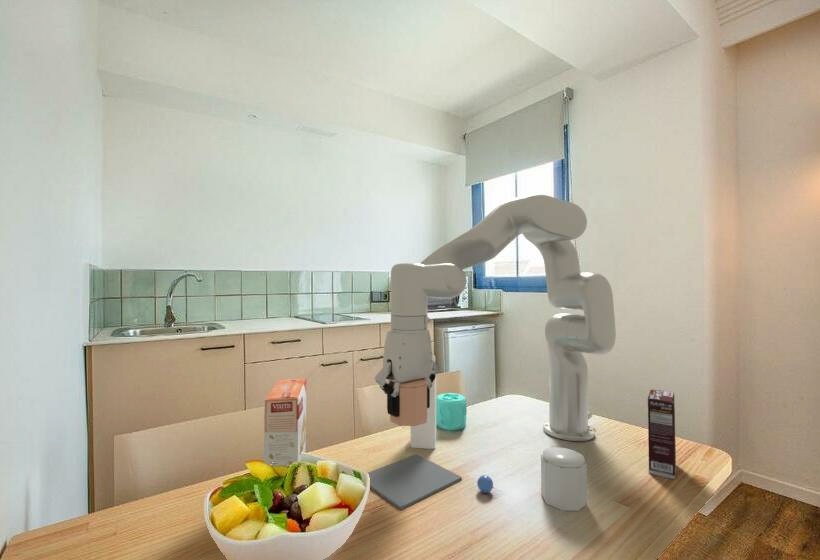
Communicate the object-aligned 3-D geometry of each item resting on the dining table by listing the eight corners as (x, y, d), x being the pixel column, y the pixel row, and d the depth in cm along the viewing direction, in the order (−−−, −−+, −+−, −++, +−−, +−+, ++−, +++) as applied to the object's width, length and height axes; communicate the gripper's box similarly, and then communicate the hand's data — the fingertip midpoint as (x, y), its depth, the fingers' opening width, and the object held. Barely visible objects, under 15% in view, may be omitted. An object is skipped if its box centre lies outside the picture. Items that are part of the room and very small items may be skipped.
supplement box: (650, 458, 87) (649, 388, 88) (676, 464, 85) (675, 392, 85) (647, 473, 80) (647, 397, 81) (675, 480, 78) (675, 402, 78)
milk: (435, 449, 93) (435, 357, 92) (410, 448, 93) (410, 357, 93) (436, 439, 99) (436, 353, 99) (413, 437, 99) (413, 352, 99)
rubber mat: (416, 455, 89) (416, 453, 89) (461, 479, 78) (461, 477, 78) (357, 479, 79) (357, 476, 79) (400, 509, 68) (400, 507, 68)
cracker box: (299, 522, 65) (299, 397, 65) (261, 525, 64) (261, 399, 64) (307, 479, 78) (307, 377, 79) (276, 482, 77) (276, 378, 78)
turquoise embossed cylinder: (466, 421, 111) (466, 393, 111) (463, 432, 103) (463, 402, 103) (439, 419, 113) (439, 392, 113) (434, 429, 105) (434, 400, 105)
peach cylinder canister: (411, 411, 84) (411, 374, 84) (434, 420, 78) (434, 380, 78) (384, 418, 79) (384, 379, 79) (406, 428, 73) (406, 386, 73)
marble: (484, 485, 76) (483, 470, 76) (496, 492, 74) (496, 476, 74) (474, 491, 74) (474, 475, 74) (486, 497, 72) (486, 481, 72)
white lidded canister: (555, 484, 76) (555, 444, 76) (592, 500, 71) (592, 456, 71) (535, 497, 72) (534, 454, 72) (573, 515, 66) (572, 469, 66)
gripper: (427, 319, 87) (427, 398, 87) (363, 325, 76) (362, 415, 76) (451, 322, 81) (451, 406, 81) (386, 328, 70) (385, 426, 70)
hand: (408, 410), depth 78 cm, fingers closed on peach cylinder canister, 7 cm apart
